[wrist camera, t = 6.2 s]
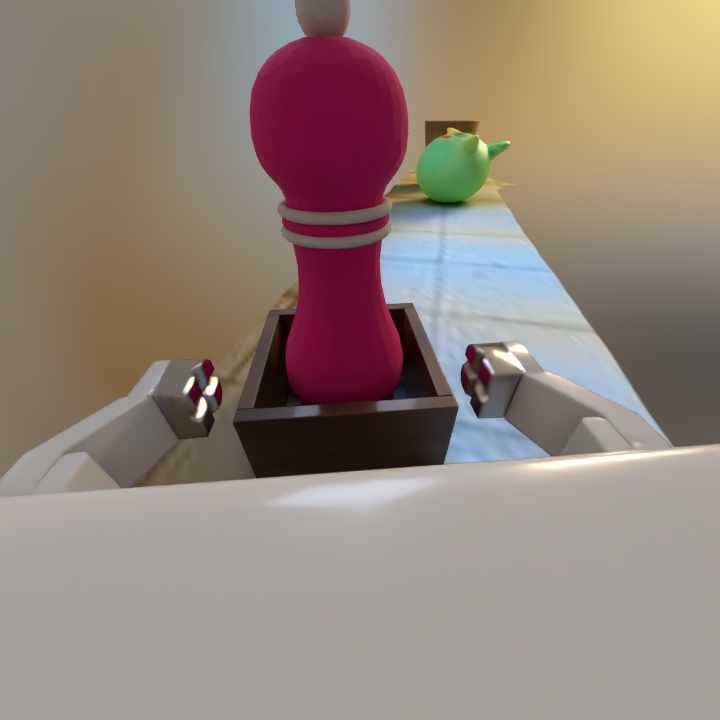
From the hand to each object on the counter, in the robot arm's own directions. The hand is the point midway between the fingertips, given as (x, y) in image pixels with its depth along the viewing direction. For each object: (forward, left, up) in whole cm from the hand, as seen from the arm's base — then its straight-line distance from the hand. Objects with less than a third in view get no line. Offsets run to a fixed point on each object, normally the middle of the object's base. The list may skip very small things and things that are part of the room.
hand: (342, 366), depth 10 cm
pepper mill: (-2, +7, -10) cm, 12 cm away
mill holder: (-2, +7, -10) cm, 12 cm away
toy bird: (+8, +79, -10) cm, 80 cm away
